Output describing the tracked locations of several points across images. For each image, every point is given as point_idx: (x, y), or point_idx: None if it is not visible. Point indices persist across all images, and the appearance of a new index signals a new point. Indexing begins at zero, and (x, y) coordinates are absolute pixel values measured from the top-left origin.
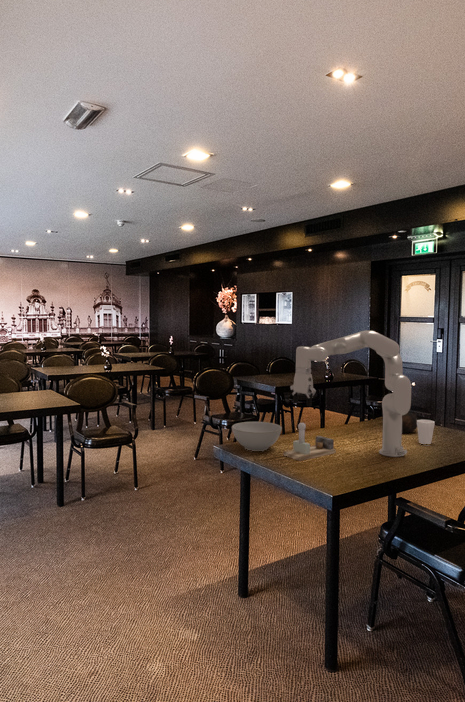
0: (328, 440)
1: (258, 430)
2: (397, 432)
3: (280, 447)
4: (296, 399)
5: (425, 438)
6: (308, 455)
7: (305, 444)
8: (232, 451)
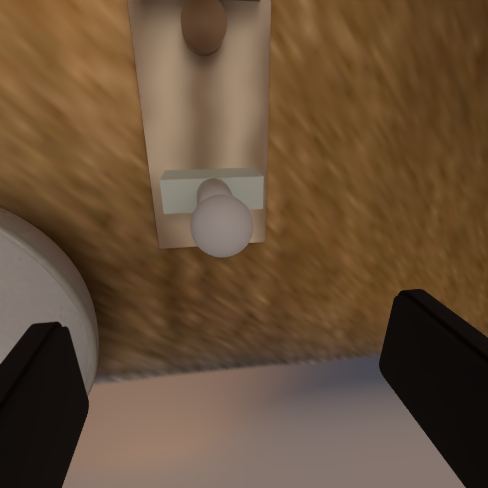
0: None
1: None
2: None
3: (14, 158)
4: (48, 424)
5: None
6: (266, 190)
7: (259, 208)
8: None
